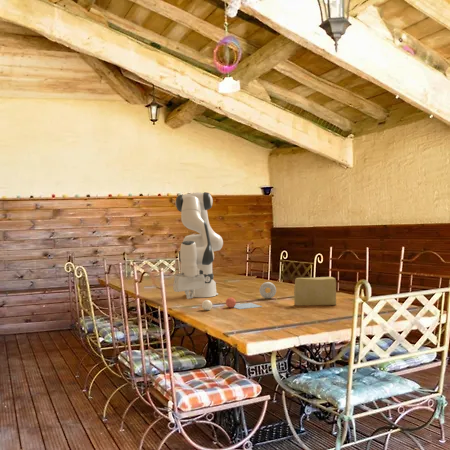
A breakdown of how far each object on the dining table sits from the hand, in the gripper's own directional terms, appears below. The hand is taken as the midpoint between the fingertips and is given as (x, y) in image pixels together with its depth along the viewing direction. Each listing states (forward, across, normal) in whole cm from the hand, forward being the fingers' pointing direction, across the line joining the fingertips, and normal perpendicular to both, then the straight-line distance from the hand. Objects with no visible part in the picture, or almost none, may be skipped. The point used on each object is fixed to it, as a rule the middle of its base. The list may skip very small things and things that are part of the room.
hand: (189, 298), depth 268 cm
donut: (+7, +58, -8) cm, 59 cm away
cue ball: (+4, +9, -4) cm, 11 cm away
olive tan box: (+7, +54, -43) cm, 69 cm away
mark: (+7, +30, -13) cm, 33 cm away
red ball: (+4, +22, -10) cm, 24 cm away
